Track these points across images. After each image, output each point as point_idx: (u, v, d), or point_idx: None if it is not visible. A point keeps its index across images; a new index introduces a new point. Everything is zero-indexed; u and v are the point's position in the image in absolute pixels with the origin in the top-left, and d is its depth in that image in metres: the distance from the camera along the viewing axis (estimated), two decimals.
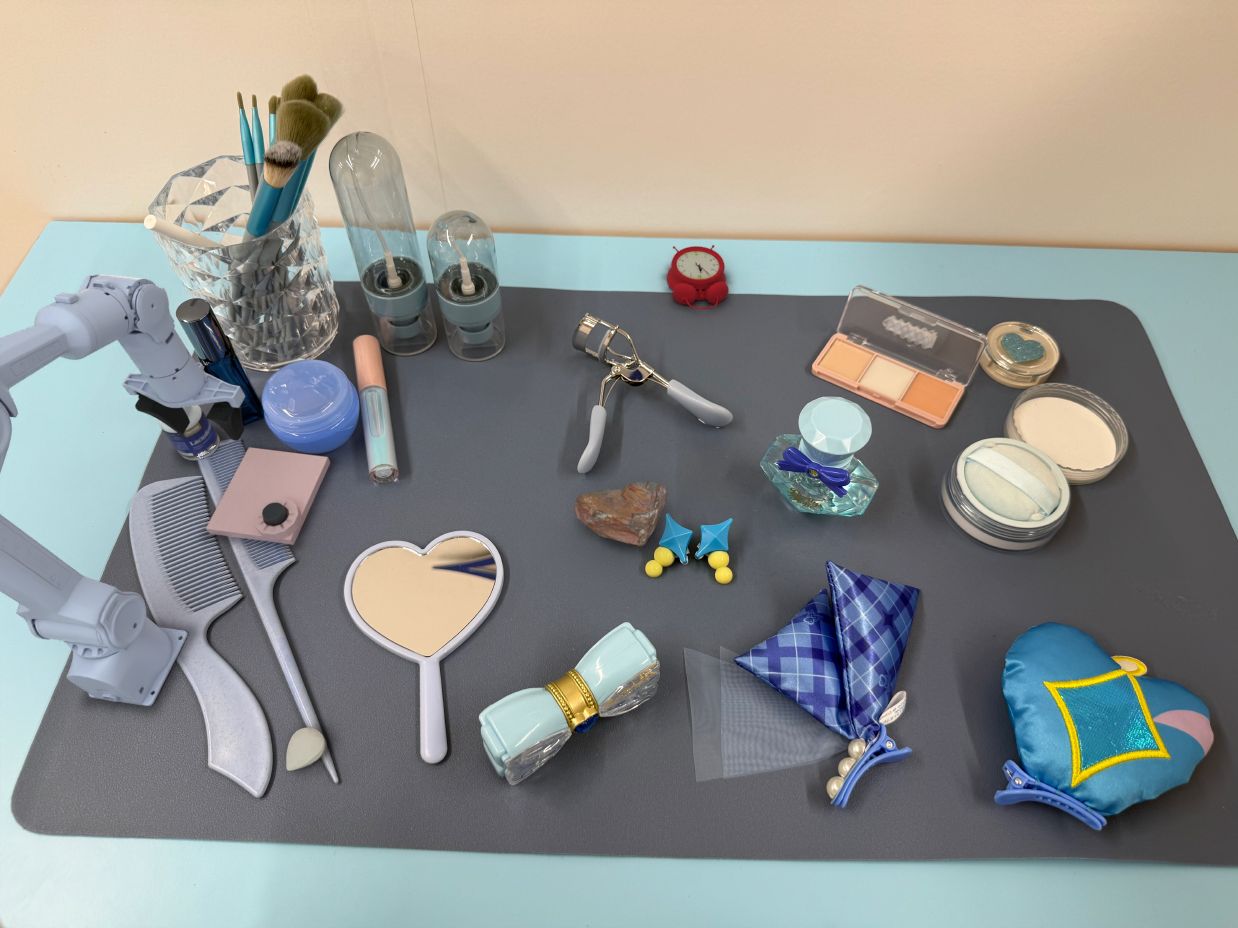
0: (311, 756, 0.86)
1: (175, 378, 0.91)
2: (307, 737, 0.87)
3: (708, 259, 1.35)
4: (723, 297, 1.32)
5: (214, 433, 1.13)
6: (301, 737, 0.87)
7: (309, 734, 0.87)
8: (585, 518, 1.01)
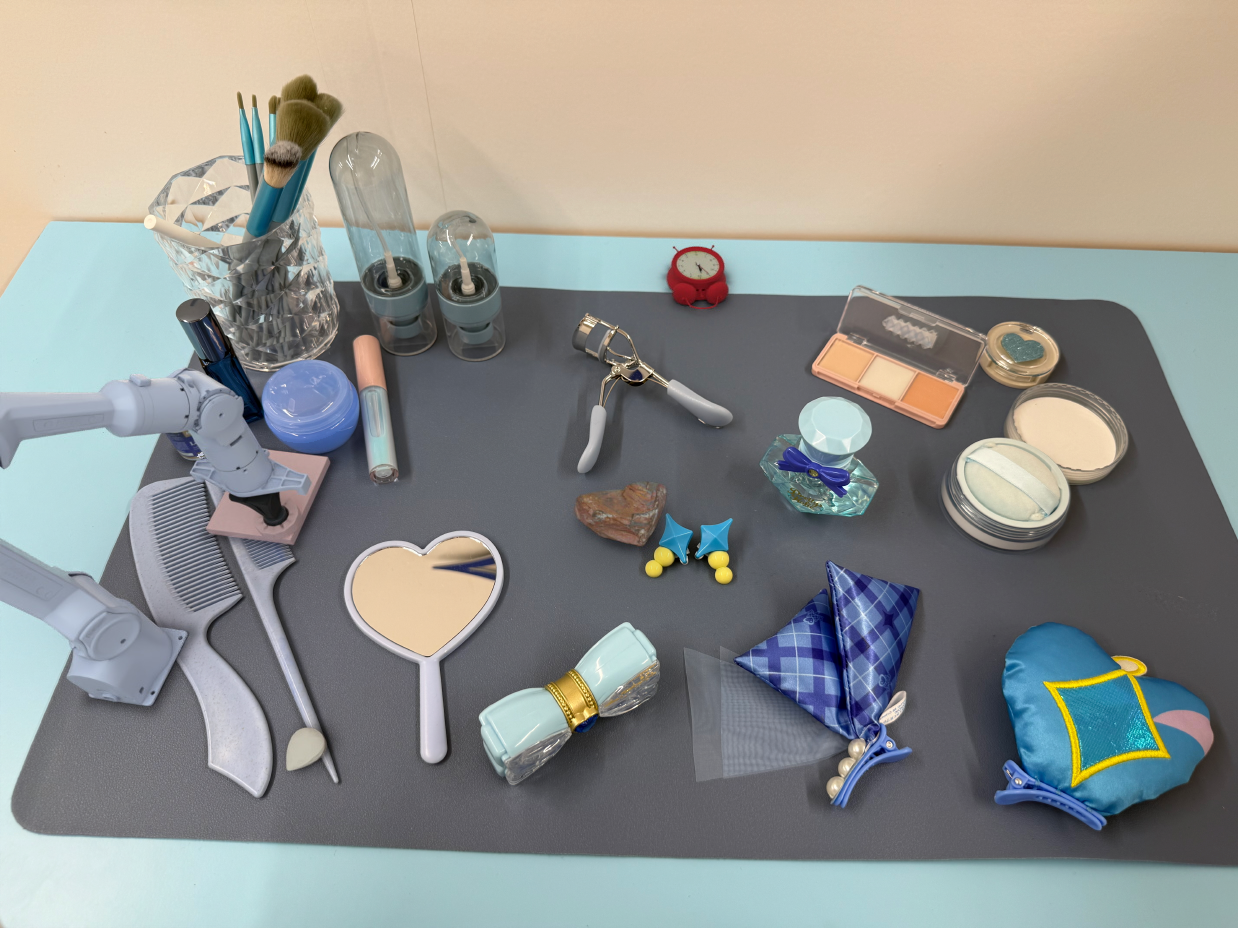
0: (311, 756, 0.86)
1: (246, 470, 0.92)
2: (307, 737, 0.87)
3: (708, 259, 1.35)
4: (723, 297, 1.32)
5: None
6: (301, 737, 0.87)
7: (309, 734, 0.87)
8: (585, 518, 1.01)
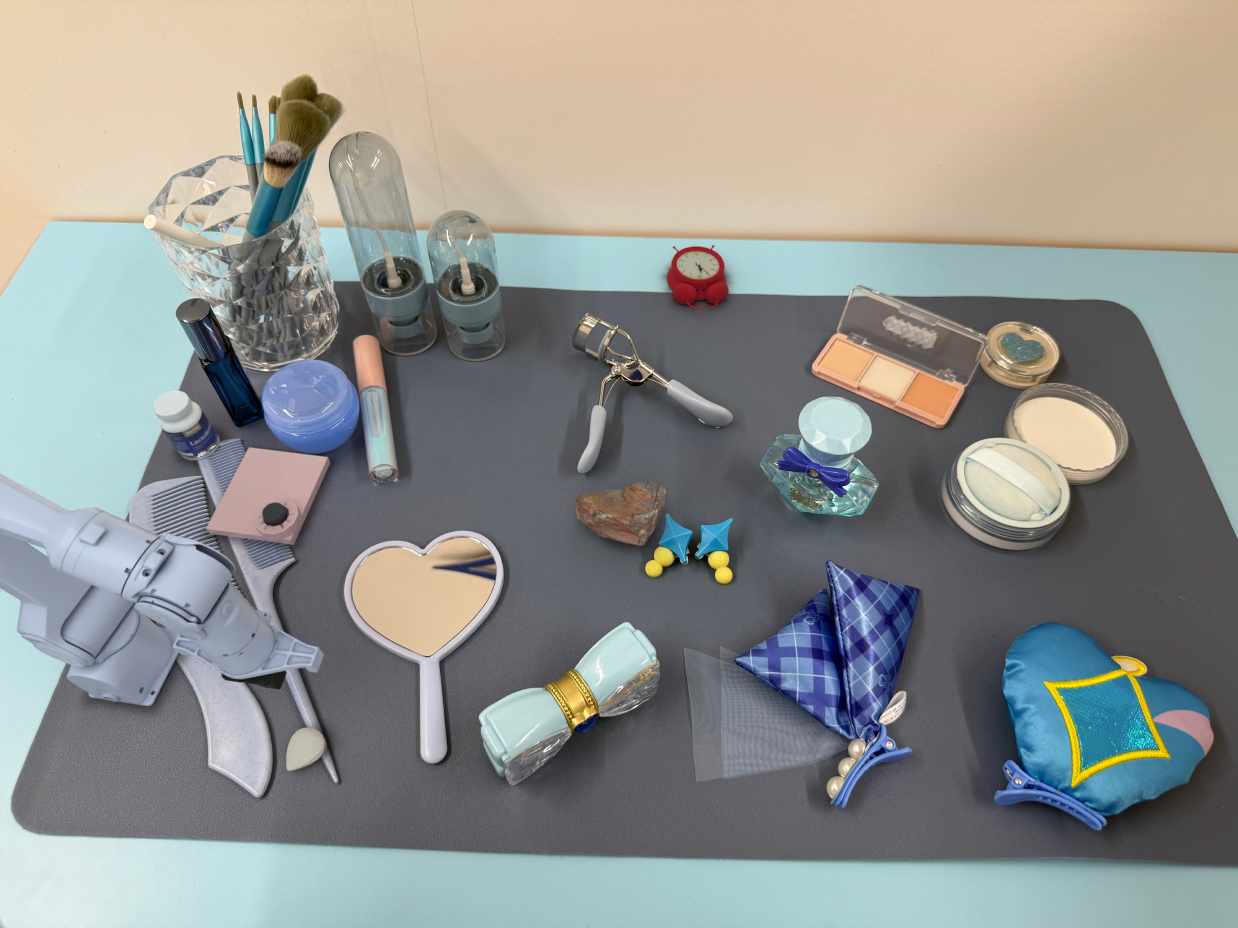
0: (311, 756, 0.86)
1: (242, 652, 0.73)
2: (307, 737, 0.87)
3: (708, 259, 1.35)
4: (723, 297, 1.32)
5: (214, 433, 1.13)
6: (301, 737, 0.87)
7: (309, 734, 0.87)
8: (585, 518, 1.01)
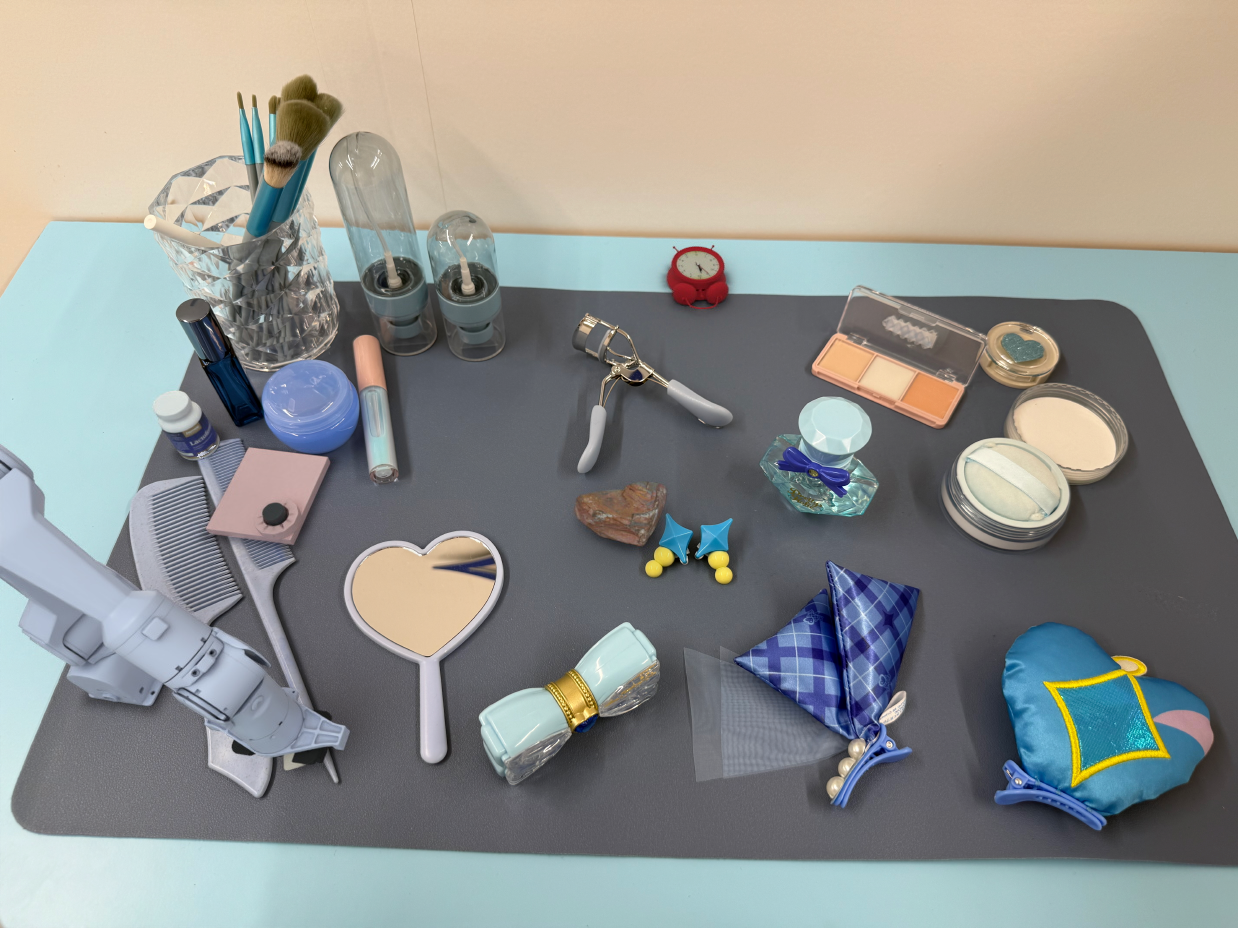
0: None
1: (273, 734, 0.76)
2: None
3: (708, 259, 1.35)
4: (723, 297, 1.32)
5: (214, 433, 1.13)
6: None
7: None
8: (585, 518, 1.01)
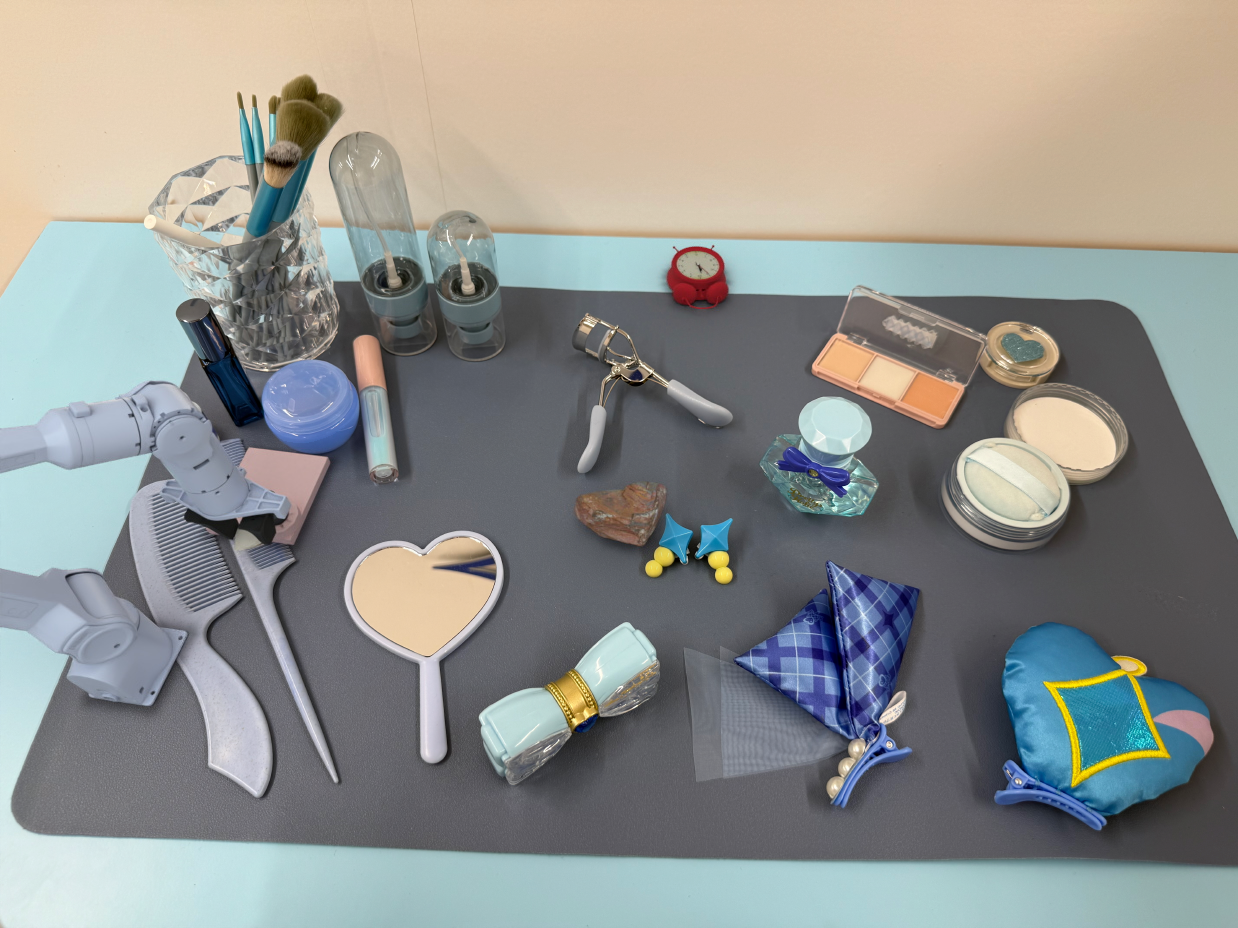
0: None
1: (218, 492, 0.84)
2: None
3: (708, 259, 1.35)
4: (723, 297, 1.32)
5: (214, 433, 1.13)
6: None
7: None
8: (585, 518, 1.01)
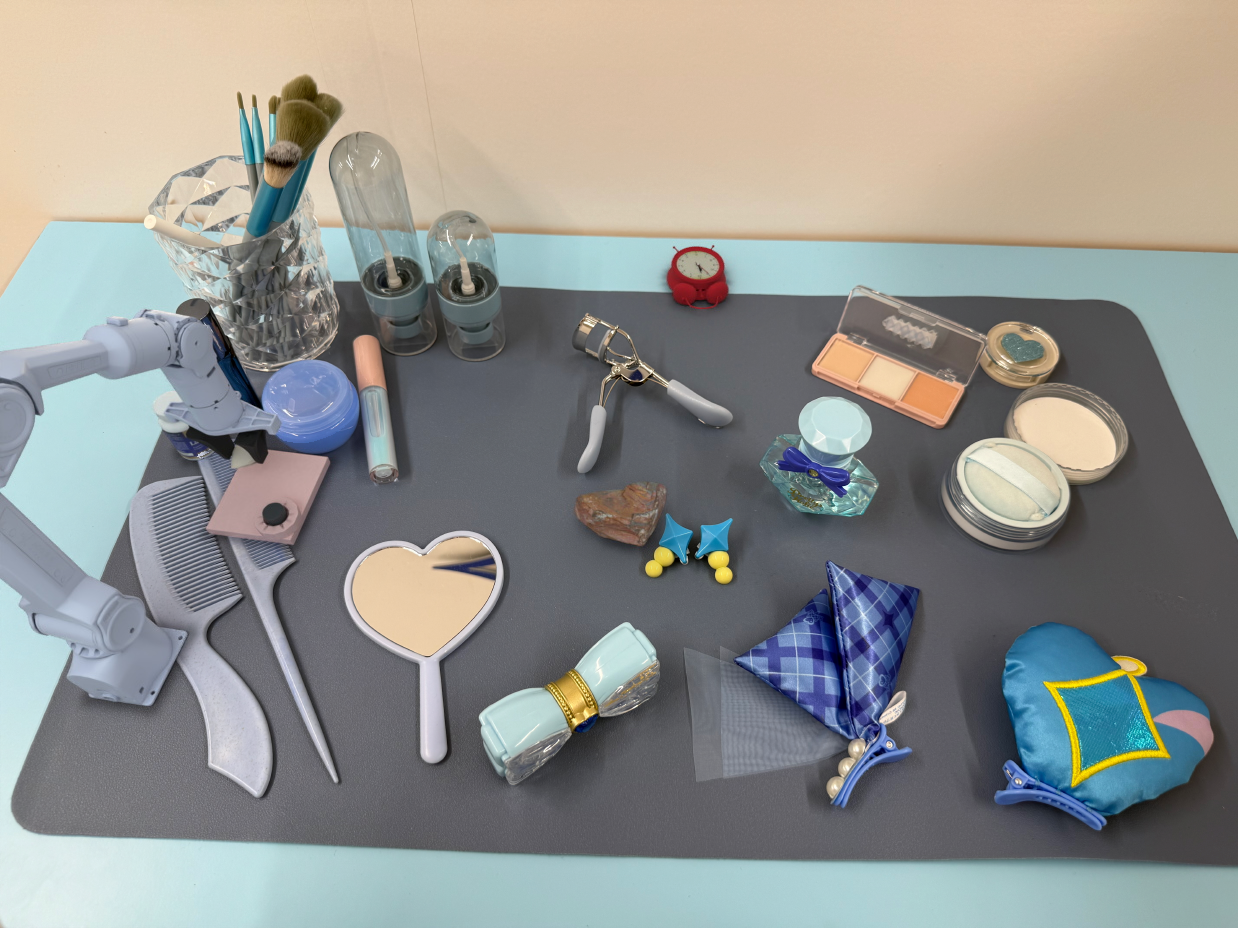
0: (251, 457, 1.06)
1: (216, 408, 0.95)
2: None
3: (708, 259, 1.35)
4: (723, 297, 1.32)
5: None
6: None
7: None
8: (585, 518, 1.01)
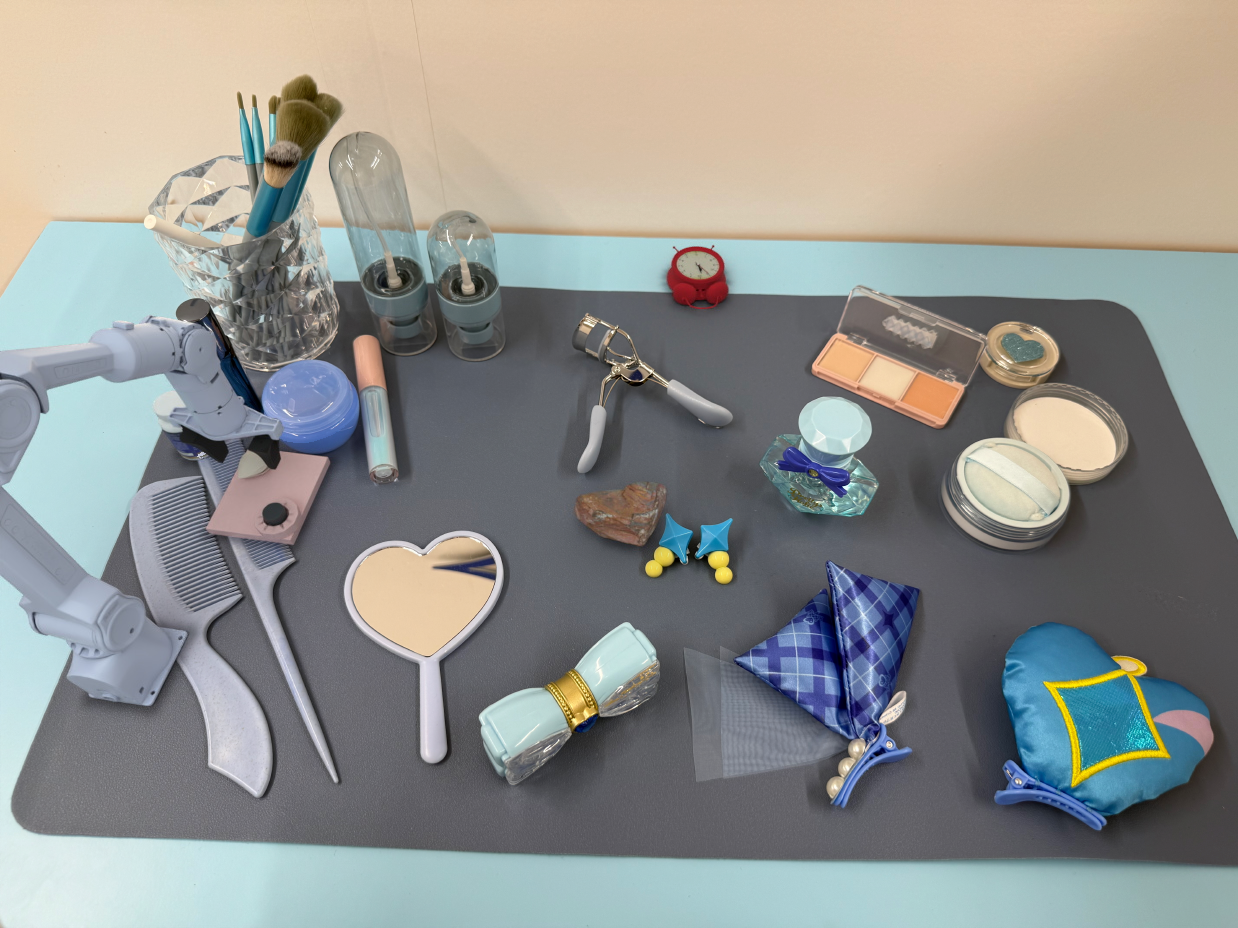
0: (258, 467, 1.08)
1: (220, 413, 0.96)
2: (255, 454, 1.08)
3: (708, 259, 1.35)
4: (723, 297, 1.32)
5: None
6: (250, 454, 1.08)
7: None
8: (585, 518, 1.01)
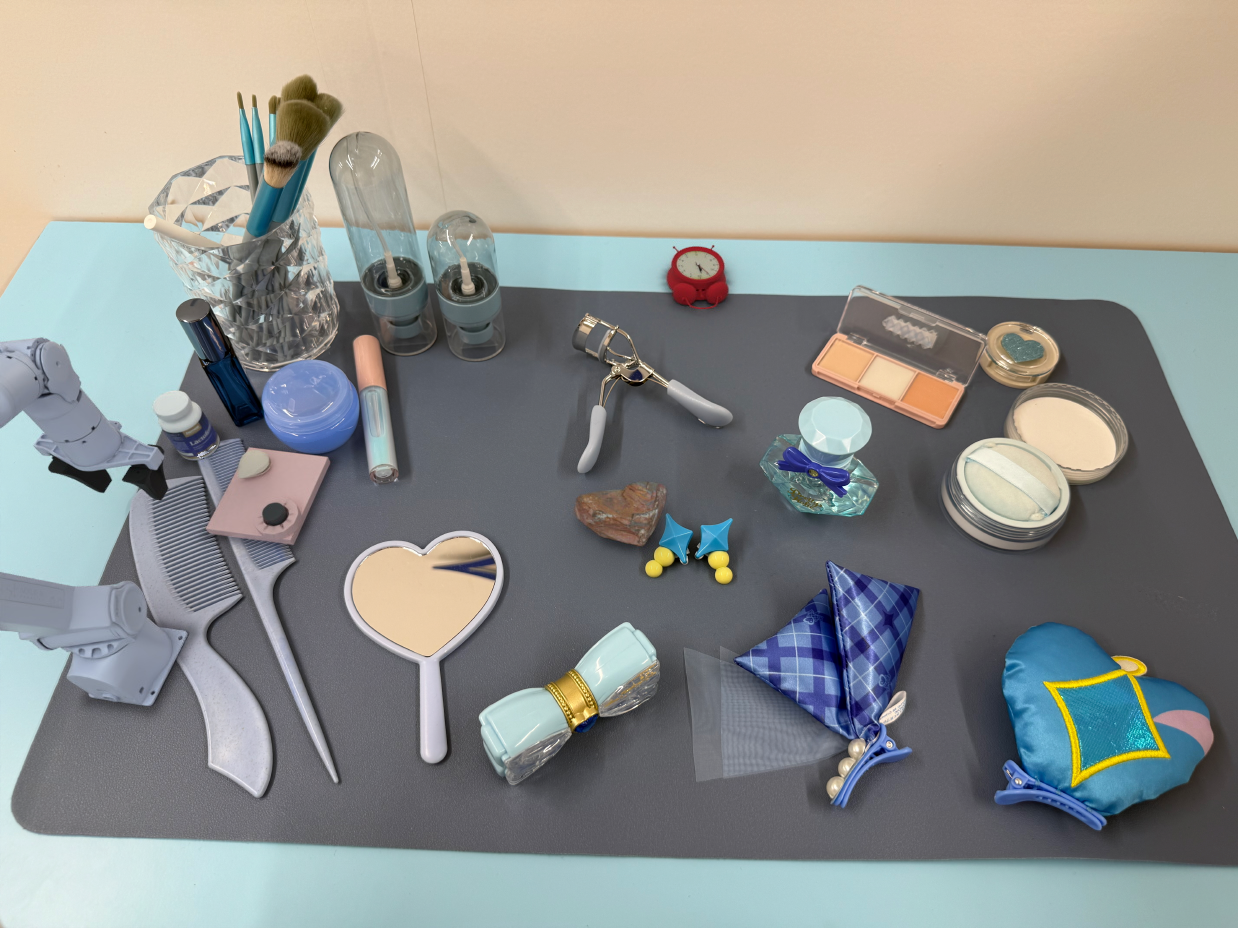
0: (258, 467, 1.08)
1: (85, 442, 0.86)
2: (255, 454, 1.08)
3: (708, 259, 1.35)
4: (723, 297, 1.32)
5: (214, 433, 1.13)
6: (250, 454, 1.08)
7: (256, 453, 1.09)
8: (585, 518, 1.01)
